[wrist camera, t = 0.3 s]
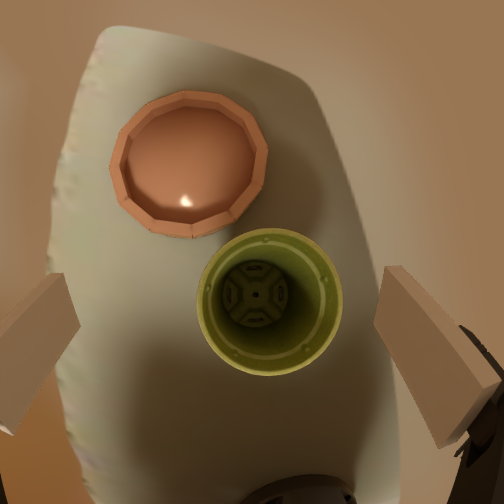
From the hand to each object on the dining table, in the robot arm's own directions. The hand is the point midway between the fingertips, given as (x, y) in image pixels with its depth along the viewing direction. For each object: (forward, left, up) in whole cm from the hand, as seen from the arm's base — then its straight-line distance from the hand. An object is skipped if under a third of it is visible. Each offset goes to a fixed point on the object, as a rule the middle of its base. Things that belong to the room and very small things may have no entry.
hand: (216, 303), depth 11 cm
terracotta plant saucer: (+11, +5, -15) cm, 19 cm away
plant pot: (0, -3, -16) cm, 16 cm away
